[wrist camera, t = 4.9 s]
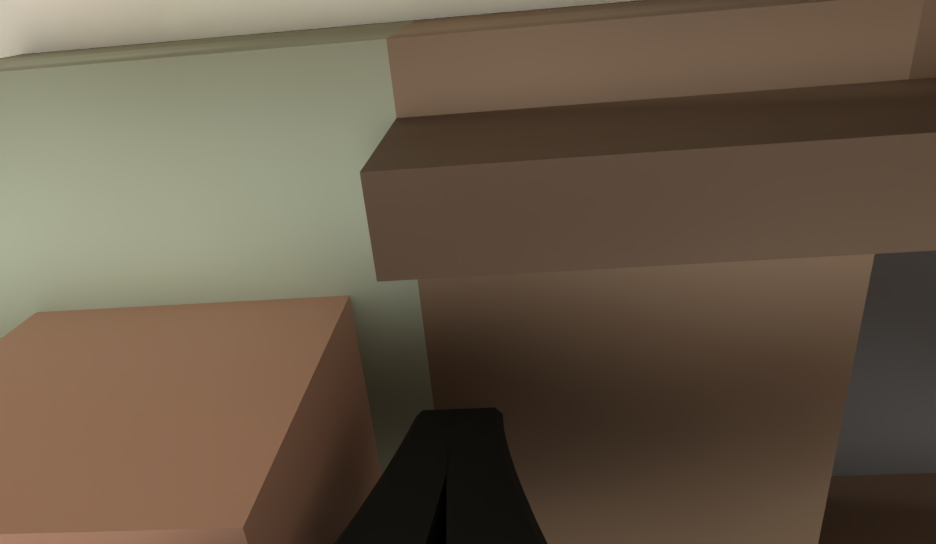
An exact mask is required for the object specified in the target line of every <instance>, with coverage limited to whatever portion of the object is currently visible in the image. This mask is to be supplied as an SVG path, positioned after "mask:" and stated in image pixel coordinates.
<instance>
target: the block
mask: <svg viewBox="0 0 936 544" xmlns="http://www.w3.org/2000/svg"><path fill="white" fill-rule="evenodd" d="M381 476H382V474H381V468H380V463H379V457H378V452H377V446H376V440H375V435H374V429H373V424H372V418H371V413H370V407H369V402H368V396H367V390H366V385H365V379H364V374H363V368H362V363H361V357H360V351H359V346H358V340H357V335H356V329H355V324H354V318H353V313H352V307H351V301H350V296H349V295H346V296H328V297H309V298H291V299H272V300H254V301H235V302H217V303H198V304H180V305H161V306H143V307H124V308H106V309H87V310H69V311H50V312H36V313H35V314H33V315H32V316H31V317H29V318H28V319H27V320H25V321H24V322H23V323H21V324H20V325H19V326H17V327H16V328H15V329H13V330H12V331H11V332H9V333H8V334H7V335H5V336H4V337H3V338H1V339H0V544H334V543H335V541H336V540H337V539H338V537H339V536H340V535H341V534H342V532H343V531H344V530H345V528H346V527H347V526H348V524H349V523H350V521H351V520H352V519H353V517H354V516H355V514H356V513H357V512H358V510H359V509H360V507H361V506H362V504H363V503H364V501H365V500H366V498H367V497H368V495H369V494H370V492H371V491H372V489H373V488H374V486H375V485H376V483H377V482H378V480H379V479H380V477H381Z"/></svg>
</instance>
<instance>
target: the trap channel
mask: <svg viewBox="0 0 936 544" xmlns="http://www.w3.org/2000/svg"><path fill="white" fill-rule="evenodd" d="M346 295H349V296H350V301H351V307H352V313H353V318H354V324H355V329H356V335H357V340H358V346H359V351H360V357H361V363H362V368H363V374H364V379H365V385H366V390H367V396H368V402H369V407H370V413H371V418H372V424H373V429H374V435H375V440H376V446H377V452H378V457H379V463H380V468H381V474H383V473H384V471H385V469H386V468H387V466H388V464H389V463H390V461H391V460H392V458H393V456H394V455H395V453H396V451H397V450H398V448H399V446H400V445H401V443H402V441H403V439H404V438H405V436H406V434H407V432H408V431H409V429H410V427H411V425H412V423H413V421H414V419H415V417H416V416H417V415H418V414H419V413H420V412H421V411H422V410H442V409H467V408H492V407H495V408H496V409H498V410H499V411H500V412H501V413H503V421H504V431H505V436H506V440H507V444H508V448H509V451H510V455H511V458H512V461H513V464H514V467H515V470H516V473H517V475H518V478H519V480H520V483H521V486H522V488H523V490H524V493H525V495H526V497H527V500H528V502H529V504H530V507H531V509H532V511H533V514H534V516H535V518H536V521H537V523H538V525H539V527H540V529H541V531H542V533H543V535H544V537H545V539H546V541H547V543H548V544H936V0H642V1H631V2H619V3H608V4H596V5H585V6H573V7H562V8H550V9H539V10H527V11H516V12H504V13H493V14H481V15H469V16H458V17H446V18H435V19H423V20H412V21H400V22H389V23H377V24H366V25H354V26H343V27H331V28H320V29H308V30H297V31H285V32H274V33H262V34H251V35H239V36H228V37H216V38H205V39H193V40H182V41H170V42H159V43H147V44H136V45H124V46H113V47H101V48H90V49H78V50H67V51H55V52H44V53H32V54H21V55H16V56H11V57H5V58H0V339H1V338H3V337H4V336H5V335H7V334H8V333H9V332H11V331H12V330H13V329H15V328H16V327H17V326H19V325H20V324H21V323H23V322H24V321H25V320H27V319H28V318H29V317H31V316H32V315H33V314H35V313H36V312H50V311H69V310H87V309H106V308H124V307H143V306H161V305H180V304H198V303H217V302H235V301H254V300H272V299H291V298H309V297H328V296H346Z"/></svg>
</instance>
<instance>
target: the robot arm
mask: <svg viewBox="0 0 936 544" xmlns="http://www.w3.org/2000/svg"><path fill="white" fill-rule="evenodd" d="M334 544H548V543H547V541H546V539H545V537H544V535H543V533H542V531H541V529H540V527H539V525H538V523H537V521H536V518H535V516H534V514H533V511H532V509H531V507H530V504H529V502H528V500H527V497H526V495H525V493H524V490H523V488H522V486H521V483H520V480H519V478H518V475H517V473H516V470H515V467H514V464H513V461H512V458H511V455H510V451H509V448H508V444H507V440H506V436H505V431H504V421H503V413H501V412H500V411H499V410H498V409H496V408H495V407H492V408H467V409H442V410H422V411H421V412H420V413H419V414H418V415H417V416H416V417H415V419H414V421H413V423H412V425H411V427H410V429H409V431H408V432H407V434H406V436H405V438H404V439H403V441H402V443H401V445H400V446H399V448H398V450H397V451H396V453H395V455H394V456H393V458H392V460H391V461H390V463H389V464H388V466H387V468H386V469H385V471H384V473H383V474H382V476H381V477H380V479H379V480H378V482H377V483H376V485H375V486H374V488H373V489H372V491H371V492H370V494H369V495H368V497H367V498H366V500H365V501H364V503H363V504H362V506H361V507H360V509H359V510H358V512H357V513H356V514H355V516H354V517H353V519H352V520H351V521H350V523H349V524H348V526H347V527H346V528H345V530H344V531H343V532H342V534H341V535H340V536H339V537H338V539H337V540H336V541H335V543H334Z"/></svg>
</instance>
